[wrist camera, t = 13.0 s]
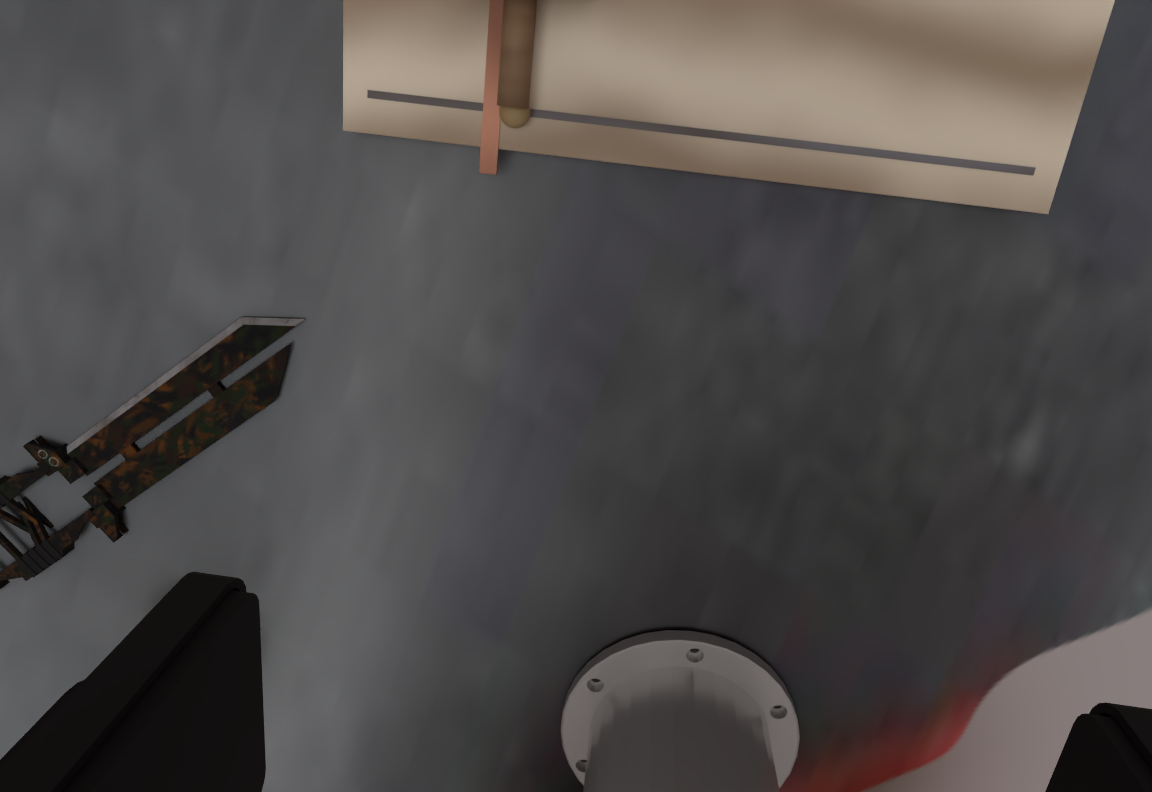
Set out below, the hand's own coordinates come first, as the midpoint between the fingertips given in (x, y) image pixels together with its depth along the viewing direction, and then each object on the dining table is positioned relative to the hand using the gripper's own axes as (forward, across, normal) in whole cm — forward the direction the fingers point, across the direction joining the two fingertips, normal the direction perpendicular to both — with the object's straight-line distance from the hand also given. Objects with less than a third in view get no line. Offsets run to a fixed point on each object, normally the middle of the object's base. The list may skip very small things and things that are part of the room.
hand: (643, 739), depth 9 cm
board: (+28, -1, -10) cm, 30 cm away
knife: (+29, +25, +13) cm, 40 cm away
